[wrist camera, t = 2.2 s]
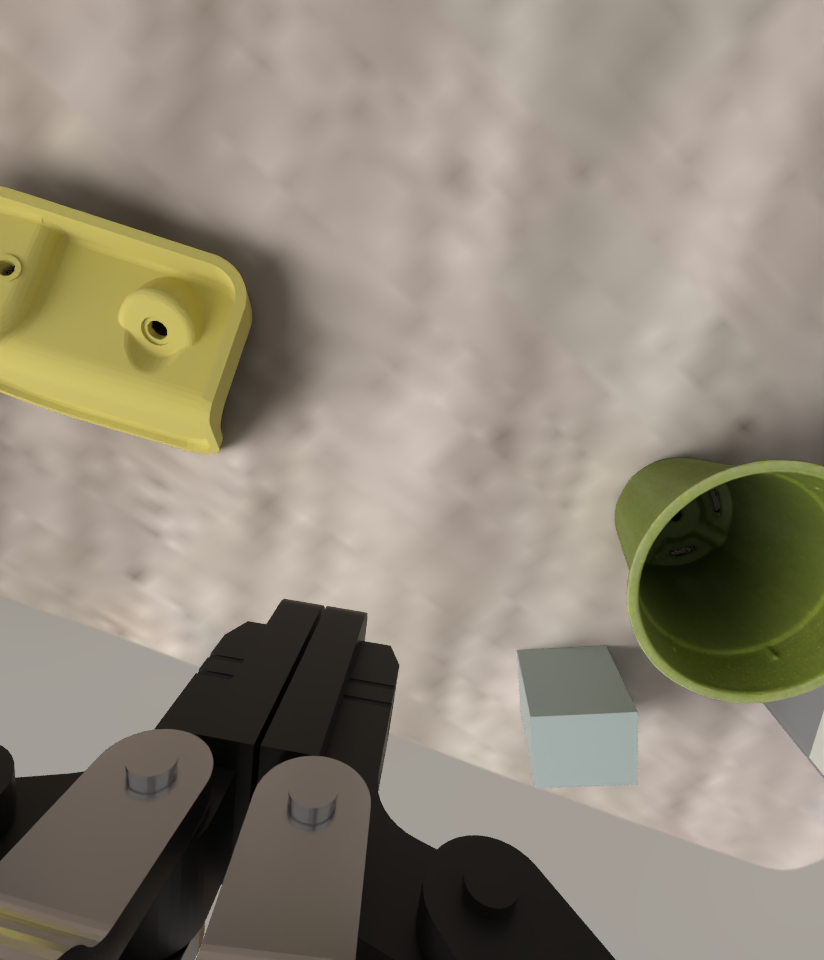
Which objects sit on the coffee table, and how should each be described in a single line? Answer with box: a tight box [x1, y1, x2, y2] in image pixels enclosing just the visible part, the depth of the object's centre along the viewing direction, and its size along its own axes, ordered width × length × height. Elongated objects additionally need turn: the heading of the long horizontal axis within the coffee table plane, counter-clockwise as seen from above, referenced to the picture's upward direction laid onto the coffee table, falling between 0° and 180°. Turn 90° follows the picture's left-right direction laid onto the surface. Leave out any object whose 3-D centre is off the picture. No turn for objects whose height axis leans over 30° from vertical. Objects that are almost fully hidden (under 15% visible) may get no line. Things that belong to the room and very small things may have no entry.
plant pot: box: [615, 458, 824, 703], centre depth 32 cm, size 12×12×11 cm
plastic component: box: [0, 186, 252, 454], centre depth 34 cm, size 20×7×10 cm
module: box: [517, 645, 638, 788], centre depth 38 cm, size 5×6×7 cm
